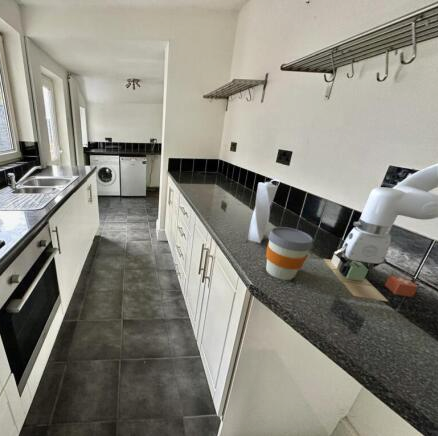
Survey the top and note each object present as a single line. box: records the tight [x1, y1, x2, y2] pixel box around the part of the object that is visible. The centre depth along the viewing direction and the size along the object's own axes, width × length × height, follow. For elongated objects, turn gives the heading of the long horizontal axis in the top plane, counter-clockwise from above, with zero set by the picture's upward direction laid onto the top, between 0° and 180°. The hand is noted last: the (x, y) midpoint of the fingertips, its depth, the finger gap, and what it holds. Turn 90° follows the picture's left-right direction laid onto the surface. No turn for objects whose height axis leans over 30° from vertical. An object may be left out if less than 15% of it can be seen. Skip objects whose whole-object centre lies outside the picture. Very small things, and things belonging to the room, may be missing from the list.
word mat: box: [322, 258, 390, 303], centre depth 79 cm, size 9×22×1 cm, turn 166°
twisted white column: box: [247, 178, 281, 244], centre depth 100 cm, size 8×8×28 cm
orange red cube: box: [384, 275, 419, 298], centre depth 73 cm, size 5×5×5 cm
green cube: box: [346, 261, 369, 281], centre depth 78 cm, size 5×5×5 cm
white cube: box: [331, 250, 354, 269], centre depth 85 cm, size 5×5×5 cm
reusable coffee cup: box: [265, 226, 314, 281], centre depth 79 cm, size 13×13×15 cm
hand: (351, 275), depth 79 cm, fingers closed on green cube, 4 cm apart
